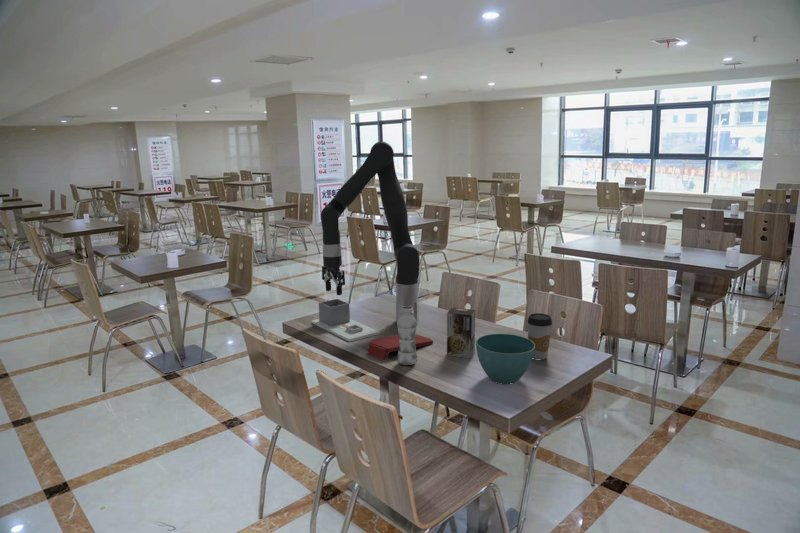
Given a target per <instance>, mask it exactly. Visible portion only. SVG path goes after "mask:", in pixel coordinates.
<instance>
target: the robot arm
mask: <svg viewBox="0 0 800 533" xmlns="http://www.w3.org/2000/svg"><path fill="white" fill-rule="evenodd" d="M394 156H395V154H394V149H393V147H392V146H391V144H389V143H388V142H386V141H377V142H375V143H374V144H373V145H372V146H371V148H370V152H369V153H368V155H367V157H366V159H365V161H364V162H363V163H362V164H361V166H360V167H359V168H358V170H356V172H355V173H354V174H353V175H352V176H350V178H349V179H348V180H347V181H346V182H345V183H344V184H343V185H342V186H341V187H340V188H339V190H338V191H337V192H336V194H335V196H334V197H333V198H332V199H331V200H330V201H328V203H327V204H326V205H325V207H323V208H322V210H321V213H320V221H321V229H322V264H323V266H321V279H322V281H324V283H325V291H326V292H330V291H331V290H332V282H331V281H333V282H334V284H335V285H336V287H335V289H336V291H335V292H336V295H337V296H342V295H343V286H346V277H345V270H341V269H340V267H341V266H343V260H342V259H343V258H342V257H343V256H342V245H341V244H342V243H341V232H340V229H339V228H340V226H339V225H340V224H339V220H340V217H341V216H342V214H343V213H344V212H345V210H346V209H347V208H348V207H349V206H351V204H352V203H353V202H355V200H356V199H357V198H358V196H359V195H360V194H361V192H362V191H363V190H364V188H366V186H367V185H368V184H369V182H371V180H372V179H373V178H374V177H375V176H376V175H377V178H378V184H379V193H380V199H381V204H382V208H383V213H384V217H385V219H386V222H387V226H388V228H389V230H390V235H391V239H392V246H393V254H394V259H395V260H396V276H395V322H396V324H397V322H398V319H399V318H400V316H401V315H402V313H401V311H402V307H404V306H410V307H413V313H412V315H413V316H414V318H415V319H416V322H417V324H418V322H419V276H420V253H419V252H420V251H419V250H418V249H417V247H415V246H414V244H413V242H412V241H413V240H412V238H411V235H410V232H409V216H408V208H407V204H406V199H405V196H404V193H403V189H402V187H401V183H400V182H399V178H398V176H397V173H396V172H397V171H396V166H395V159H394Z"/></svg>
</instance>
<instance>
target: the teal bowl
mask: <svg viewBox="0 0 800 533" xmlns="http://www.w3.org/2000/svg"><path fill="white" fill-rule="evenodd" d="M475 347H476V353H477V358H478V361H479V364H480V366H481V368H482V370H483V371H484V373H485V374H486V376H487V377H488V378H489V379H490V380H491V381H492V382H493V381H494V382H493V383H495V382H497V383H496V384H498V383H502V384H501V385H511V384H510V383H513V384H515V383H517V382H518V381H519V380H520V379H521V378H523V376H524V375H525V374H526V372H527V371H528V369H529V367H530V365H531V363H532V362H533V359H532V358H533V355H534V351H535V344H534V342H532V341H531V340H529V339H528V337H525V336H521V335H518V334H512V333H511V334H510V333H491V334H485V335H482V336H480V337H478V338H477V339H475Z"/></svg>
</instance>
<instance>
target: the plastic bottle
mask: <svg viewBox="0 0 800 533" xmlns="http://www.w3.org/2000/svg"><path fill="white" fill-rule="evenodd" d="M401 313H402V315H401V316H400V318H399V319H398V322H397V323H396V326H397V331H398V335H399V350H397V362H398V363H399V364H400V365H403V366H411V365H412V366H413V365H414V364H416V362H417V359H418V354H417V349H416V348H417V347H416V346H415V334H416V331H417V325H418V323H417V322H416V319H415V318H414V316H413V315H412V313H413V307H410V306H404V307H402V311H401Z"/></svg>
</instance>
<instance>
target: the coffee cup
mask: <svg viewBox="0 0 800 533" xmlns="http://www.w3.org/2000/svg"><path fill="white" fill-rule="evenodd" d="M552 321H553V320H552V316H550V315H549V314H547V313H539V312H538V313H537V312H536V313H534V312H533V313H530V314H529V316H528V318H527V330H528V331H527V339H529V340H531V341H532V342H534V344H535V351H534V355H533V358H534V359H545V358H546V359H547V358H548V355H549V354H548V353H549V347H550V341H551V332H552V325H553V322H552ZM534 359H533V360H534ZM546 359H545V360H546Z"/></svg>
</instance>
